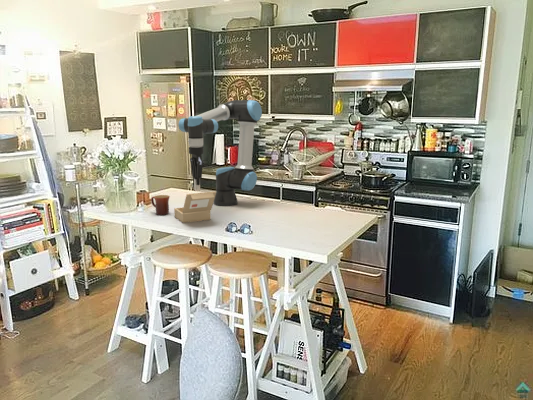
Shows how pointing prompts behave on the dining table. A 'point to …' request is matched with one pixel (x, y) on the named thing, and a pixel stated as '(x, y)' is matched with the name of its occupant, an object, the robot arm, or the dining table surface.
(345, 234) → the dining table surface
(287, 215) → the dining table surface
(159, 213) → the mug
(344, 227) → the dining table surface
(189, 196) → the lid
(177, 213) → the mailer box
